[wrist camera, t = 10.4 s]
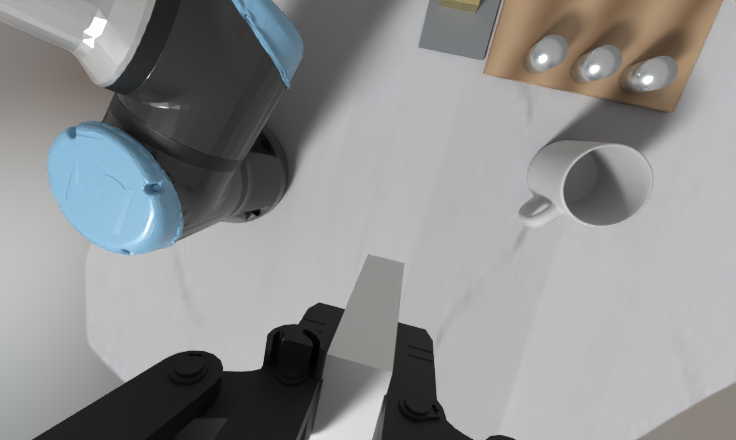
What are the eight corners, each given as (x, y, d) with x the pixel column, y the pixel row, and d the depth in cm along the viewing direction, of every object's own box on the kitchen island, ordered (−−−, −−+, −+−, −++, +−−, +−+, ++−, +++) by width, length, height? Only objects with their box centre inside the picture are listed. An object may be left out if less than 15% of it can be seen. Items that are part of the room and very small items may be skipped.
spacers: (498, 67, 41) (507, 59, 37) (539, -72, 38) (555, -98, 33) (655, 99, 40) (684, 95, 36) (714, -42, 36) (755, -65, 32)
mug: (572, 125, 43) (622, 122, 32) (612, 178, 44) (673, 192, 33) (490, 186, 46) (511, 202, 35) (529, 235, 47) (561, 264, 36)
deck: (483, 73, 43) (484, 72, 42) (526, -78, 38) (529, -84, 37) (667, 112, 41) (673, 111, 40) (734, -43, 37) (743, -47, 36)
